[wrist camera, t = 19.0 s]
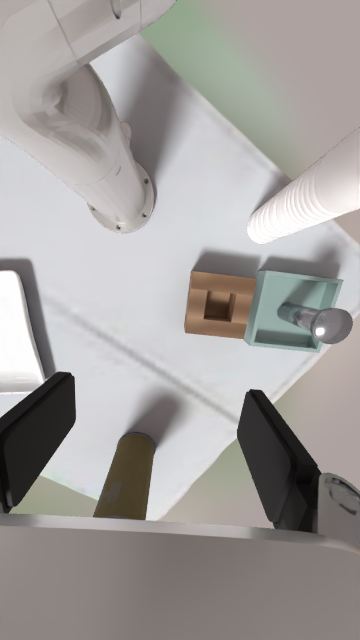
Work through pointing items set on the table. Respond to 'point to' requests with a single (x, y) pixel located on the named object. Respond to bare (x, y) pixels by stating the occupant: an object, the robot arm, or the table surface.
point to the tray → (287, 289)
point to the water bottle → (313, 194)
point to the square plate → (17, 340)
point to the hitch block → (218, 304)
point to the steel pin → (318, 321)
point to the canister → (128, 479)
